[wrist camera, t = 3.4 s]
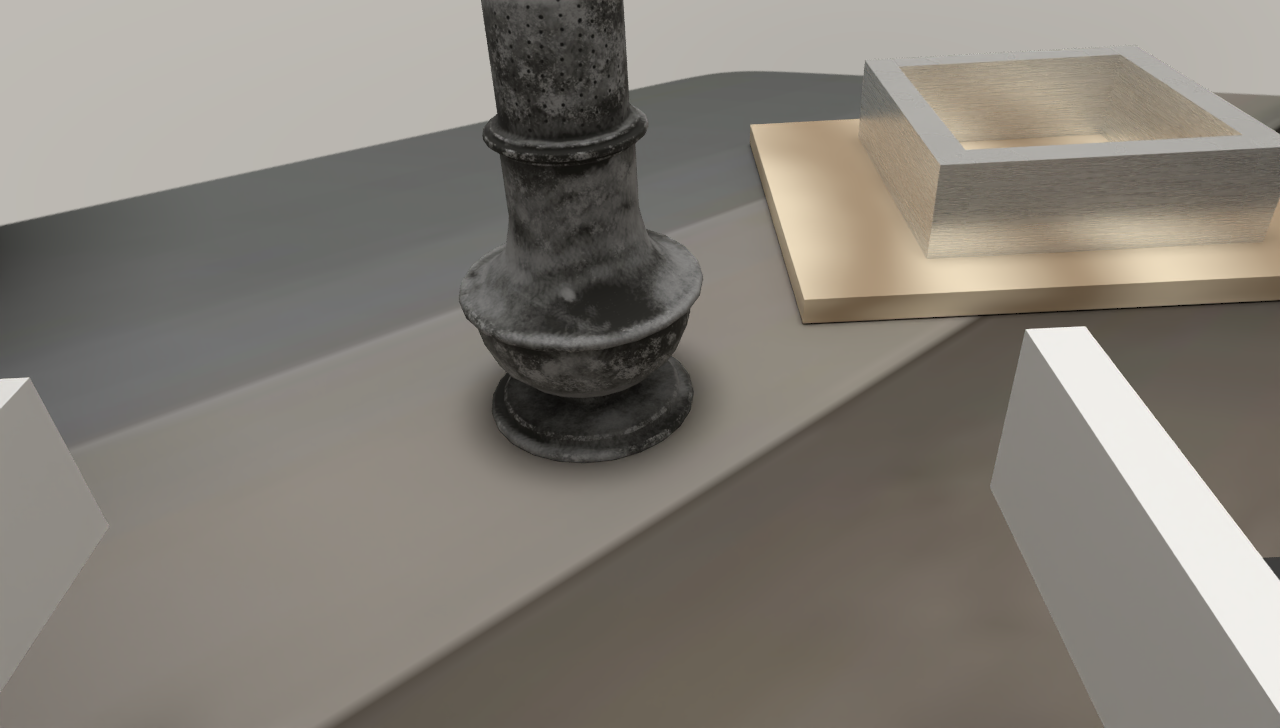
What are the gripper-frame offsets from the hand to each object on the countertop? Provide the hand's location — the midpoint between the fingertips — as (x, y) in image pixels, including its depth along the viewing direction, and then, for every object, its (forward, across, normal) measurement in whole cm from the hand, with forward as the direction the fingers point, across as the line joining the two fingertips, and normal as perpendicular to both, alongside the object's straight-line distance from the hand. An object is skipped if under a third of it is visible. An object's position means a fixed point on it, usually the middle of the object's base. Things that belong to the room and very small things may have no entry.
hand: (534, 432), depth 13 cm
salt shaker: (+10, 0, -7) cm, 12 cm away
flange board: (+20, +15, -6) cm, 25 cm away
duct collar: (+20, +15, -6) cm, 25 cm away
